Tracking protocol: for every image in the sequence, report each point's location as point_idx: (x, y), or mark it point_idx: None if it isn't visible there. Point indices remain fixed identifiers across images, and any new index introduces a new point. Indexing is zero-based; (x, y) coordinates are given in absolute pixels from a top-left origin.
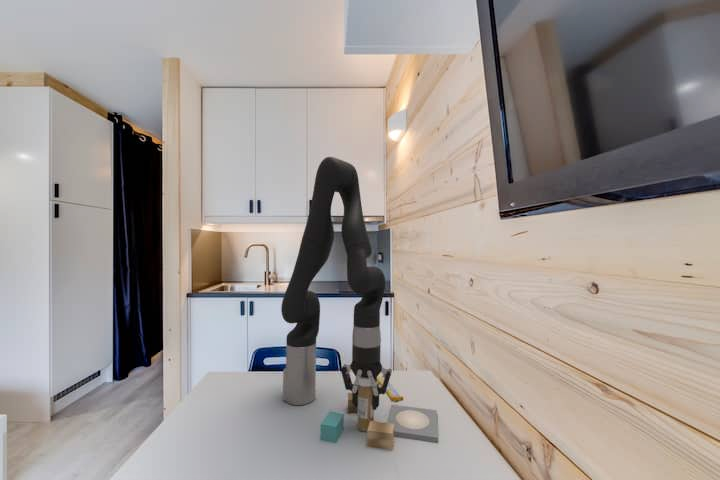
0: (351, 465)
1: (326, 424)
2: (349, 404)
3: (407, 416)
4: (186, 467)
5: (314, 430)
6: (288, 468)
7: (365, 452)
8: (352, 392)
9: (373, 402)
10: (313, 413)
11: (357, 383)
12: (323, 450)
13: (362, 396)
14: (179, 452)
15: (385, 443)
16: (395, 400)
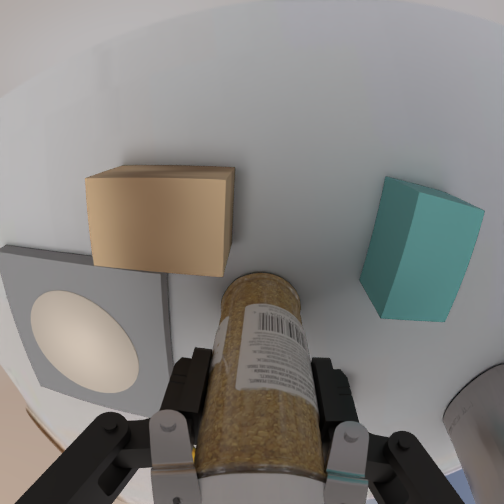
0: (289, 36)
1: (463, 208)
2: None
3: (99, 362)
4: None
5: None
6: (495, 40)
7: (237, 124)
8: (359, 426)
9: (200, 377)
10: (462, 345)
11: (336, 489)
12: (425, 123)
13: (280, 402)
14: None
15: (140, 168)
16: None
